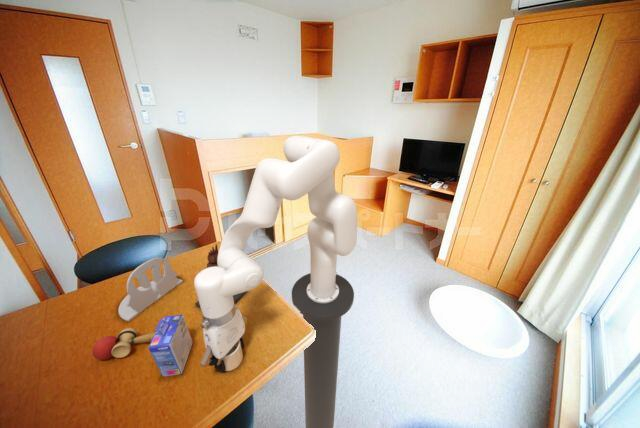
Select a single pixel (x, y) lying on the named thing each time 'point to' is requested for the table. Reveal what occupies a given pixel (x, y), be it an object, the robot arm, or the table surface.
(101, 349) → the kendama
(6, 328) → the table surface
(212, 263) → the wooden figurine
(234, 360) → the beige cup
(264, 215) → the robot arm
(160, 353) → the ink cartridge box
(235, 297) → the scale
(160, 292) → the ornament
